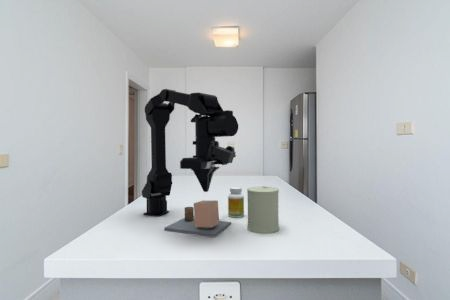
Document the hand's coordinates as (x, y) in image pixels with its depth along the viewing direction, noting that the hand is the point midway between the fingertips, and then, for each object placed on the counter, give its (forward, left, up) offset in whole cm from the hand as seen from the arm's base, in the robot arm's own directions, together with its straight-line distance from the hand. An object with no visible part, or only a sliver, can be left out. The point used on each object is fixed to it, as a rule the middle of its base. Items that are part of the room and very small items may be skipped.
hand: (205, 191), depth 76 cm
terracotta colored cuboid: (0, 0, -10) cm, 10 cm away
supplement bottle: (+3, +17, -11) cm, 21 cm away
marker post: (0, 0, -11) cm, 11 cm away
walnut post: (-8, +4, -11) cm, 14 cm away
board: (-3, +1, -11) cm, 11 cm away
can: (+15, +7, -11) cm, 20 cm away
